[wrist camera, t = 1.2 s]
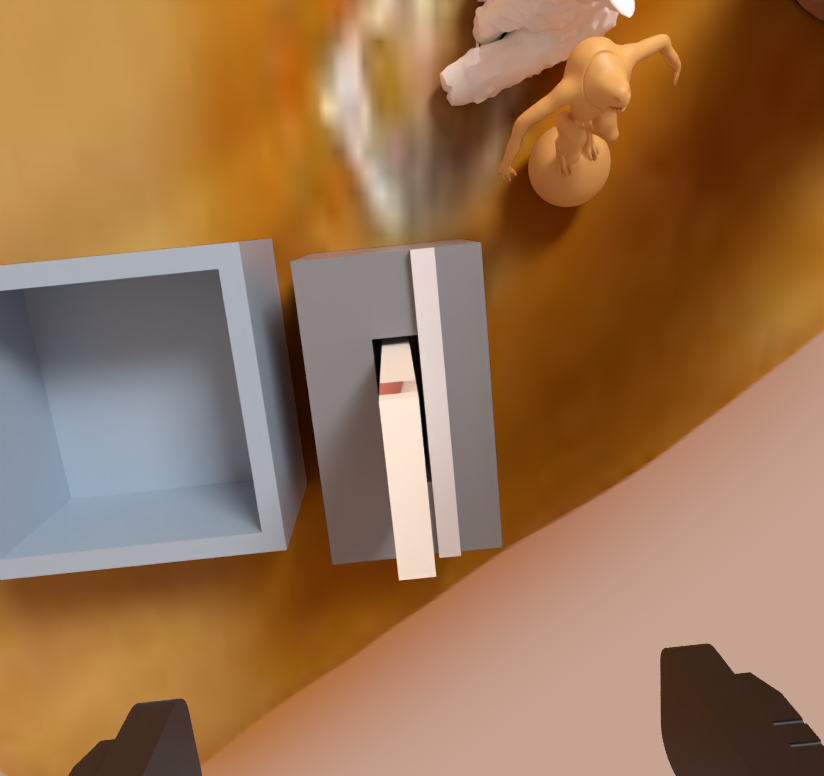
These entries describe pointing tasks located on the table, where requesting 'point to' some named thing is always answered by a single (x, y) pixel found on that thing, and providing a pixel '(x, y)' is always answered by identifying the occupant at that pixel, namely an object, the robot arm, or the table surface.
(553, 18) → the white creature statuette
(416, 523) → the ticket
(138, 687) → the table surface
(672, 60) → the figurine
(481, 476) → the dispenser
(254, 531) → the bin
